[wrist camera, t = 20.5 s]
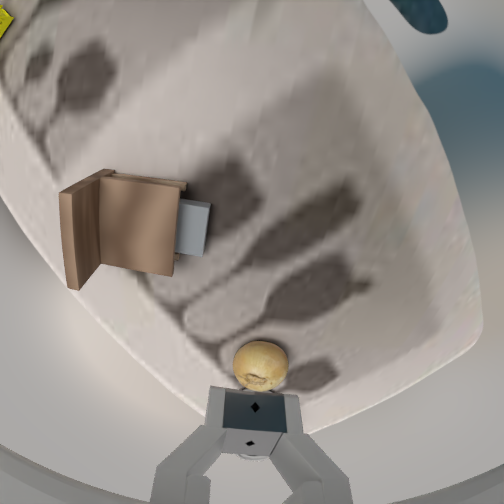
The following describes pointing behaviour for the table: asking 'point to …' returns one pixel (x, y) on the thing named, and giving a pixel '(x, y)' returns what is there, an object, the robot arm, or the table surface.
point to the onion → (260, 365)
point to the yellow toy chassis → (4, 20)
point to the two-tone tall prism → (192, 227)
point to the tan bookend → (119, 224)
